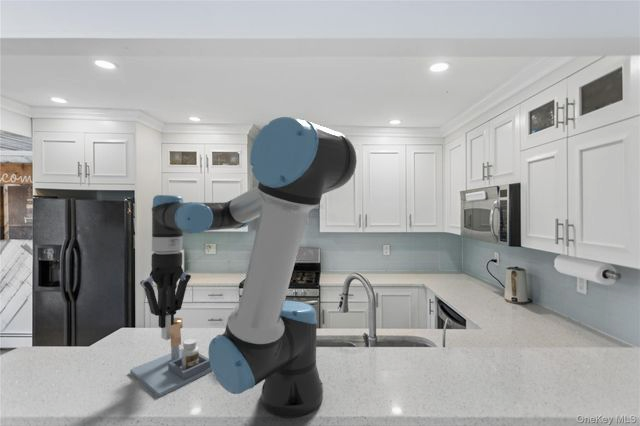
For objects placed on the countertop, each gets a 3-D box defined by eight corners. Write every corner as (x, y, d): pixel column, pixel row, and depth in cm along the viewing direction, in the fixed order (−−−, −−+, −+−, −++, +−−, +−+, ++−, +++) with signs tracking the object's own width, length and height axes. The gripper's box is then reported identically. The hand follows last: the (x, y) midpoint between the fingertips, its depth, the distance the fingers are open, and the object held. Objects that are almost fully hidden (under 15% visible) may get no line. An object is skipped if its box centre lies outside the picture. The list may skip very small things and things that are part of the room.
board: (213, 370, 86) (213, 335, 86) (159, 397, 74) (158, 357, 74) (182, 351, 96) (181, 321, 96) (130, 372, 85) (129, 337, 84)
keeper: (167, 326, 91) (167, 319, 91) (182, 324, 92) (182, 317, 92) (167, 346, 78) (167, 338, 78) (184, 343, 80) (184, 335, 80)
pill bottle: (188, 374, 82) (188, 346, 82) (178, 369, 85) (178, 342, 84) (202, 366, 86) (201, 340, 86) (192, 362, 88) (191, 336, 88)
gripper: (149, 255, 75) (147, 350, 75) (196, 251, 85) (195, 334, 85) (136, 252, 80) (134, 342, 80) (182, 248, 90) (181, 327, 90)
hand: (166, 338), depth 83 cm, fingers closed
